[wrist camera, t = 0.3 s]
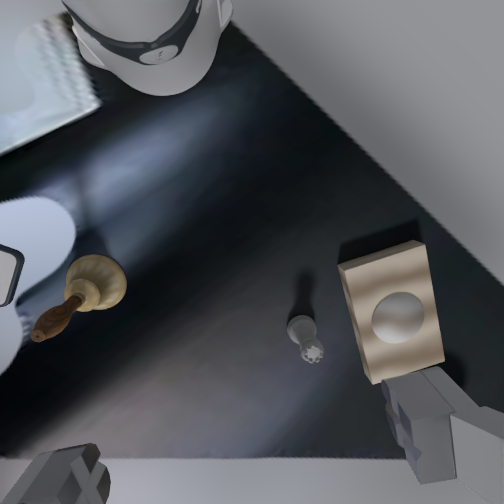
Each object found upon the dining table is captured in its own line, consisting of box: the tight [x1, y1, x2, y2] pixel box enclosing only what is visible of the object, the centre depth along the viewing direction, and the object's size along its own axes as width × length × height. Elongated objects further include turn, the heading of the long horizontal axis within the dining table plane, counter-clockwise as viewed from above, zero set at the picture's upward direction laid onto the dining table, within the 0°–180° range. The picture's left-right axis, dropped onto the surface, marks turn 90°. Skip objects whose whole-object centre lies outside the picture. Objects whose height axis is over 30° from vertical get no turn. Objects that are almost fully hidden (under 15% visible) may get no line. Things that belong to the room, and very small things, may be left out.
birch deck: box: [338, 240, 445, 384], centre depth 51 cm, size 20×12×3 cm, turn 18°
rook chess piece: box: [287, 315, 324, 363], centre depth 48 cm, size 4×4×8 cm
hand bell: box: [31, 254, 127, 342], centre depth 40 cm, size 8×8×16 cm
